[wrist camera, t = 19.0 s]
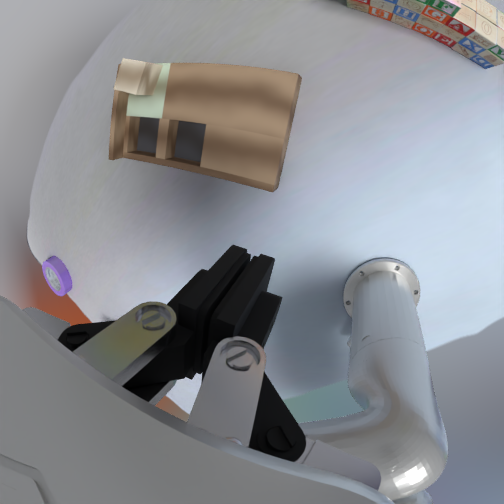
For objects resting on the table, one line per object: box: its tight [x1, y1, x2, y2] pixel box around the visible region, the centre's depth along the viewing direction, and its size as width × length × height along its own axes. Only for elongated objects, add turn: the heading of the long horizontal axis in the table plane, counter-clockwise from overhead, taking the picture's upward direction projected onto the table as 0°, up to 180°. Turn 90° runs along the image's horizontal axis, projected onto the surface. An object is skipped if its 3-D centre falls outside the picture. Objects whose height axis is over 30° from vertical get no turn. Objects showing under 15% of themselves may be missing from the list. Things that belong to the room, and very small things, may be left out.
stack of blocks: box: [347, 0, 504, 69], centre depth 15 cm, size 21×6×12 cm, turn 76°
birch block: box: [114, 59, 163, 95], centre depth 32 cm, size 5×5×4 cm
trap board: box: [109, 63, 302, 192], centre depth 35 cm, size 16×27×6 cm, turn 79°
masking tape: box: [42, 256, 72, 296], centre depth 67 cm, size 12×12×4 cm
